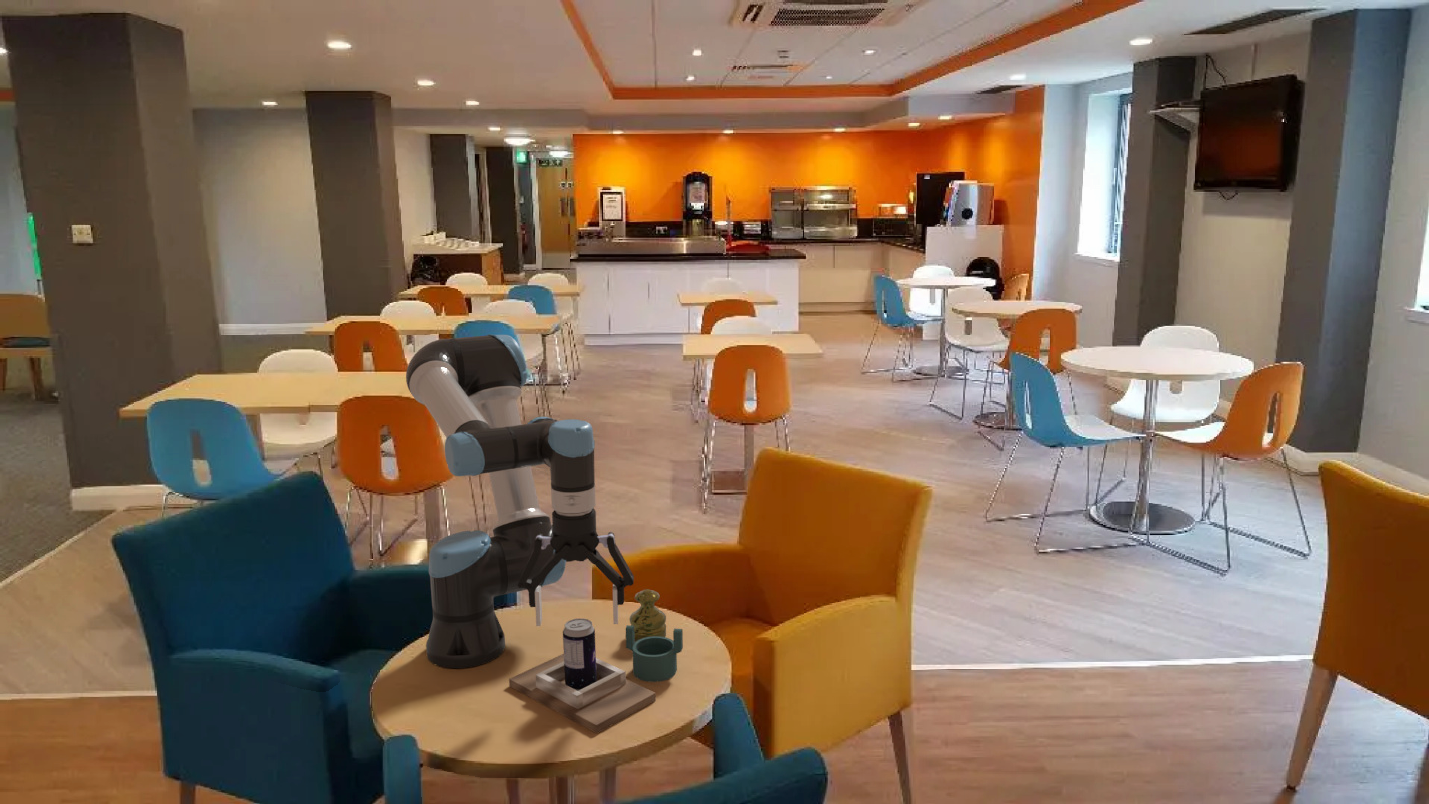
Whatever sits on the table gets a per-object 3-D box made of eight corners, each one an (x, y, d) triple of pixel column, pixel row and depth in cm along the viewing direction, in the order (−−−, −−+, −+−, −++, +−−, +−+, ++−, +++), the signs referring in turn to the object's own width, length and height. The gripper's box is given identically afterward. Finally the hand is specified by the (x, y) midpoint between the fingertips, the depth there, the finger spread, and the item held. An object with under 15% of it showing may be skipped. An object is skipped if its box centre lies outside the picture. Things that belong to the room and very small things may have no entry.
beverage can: (599, 690, 173) (596, 628, 171) (567, 695, 172) (564, 633, 169) (594, 676, 179) (591, 615, 176) (563, 680, 177) (560, 619, 175)
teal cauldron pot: (686, 674, 182) (686, 630, 181) (642, 686, 178) (641, 641, 176) (664, 655, 190) (663, 612, 188) (622, 666, 185) (620, 623, 184)
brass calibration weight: (673, 635, 198) (673, 589, 196) (648, 648, 193) (647, 601, 190) (648, 625, 203) (647, 580, 201) (622, 637, 197) (621, 591, 195)
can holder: (509, 686, 178) (508, 666, 177) (568, 658, 189) (567, 639, 188) (596, 733, 163) (596, 711, 162) (655, 700, 173) (655, 680, 172)
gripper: (497, 518, 164) (503, 633, 169) (645, 515, 165) (647, 629, 170) (504, 503, 171) (510, 614, 176) (646, 500, 172) (647, 610, 177)
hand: (577, 622), depth 173 cm, fingers open, 13 cm apart
